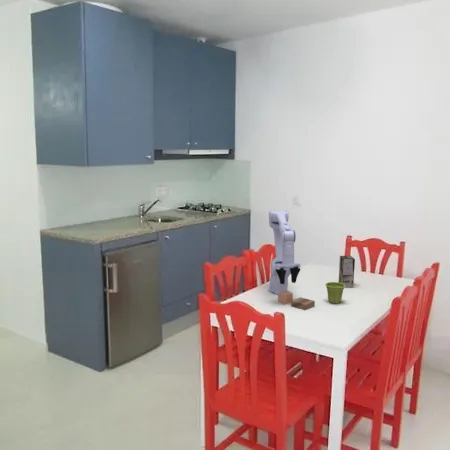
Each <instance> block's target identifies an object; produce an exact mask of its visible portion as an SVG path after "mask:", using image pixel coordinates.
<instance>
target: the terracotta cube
mask: <svg viewBox="0 0 450 450" xmlns="http://www.w3.org/2000/svg"><path fill="white" fill-rule="evenodd" d="M288 291H289V290H288ZM288 291H281V292H278V294H277V302H278V303H280V304H282V305H289V304H290V305H291V301H292V300H294V298H293V297H294V293H293V292H292V291H290V292H288Z"/></svg>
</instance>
